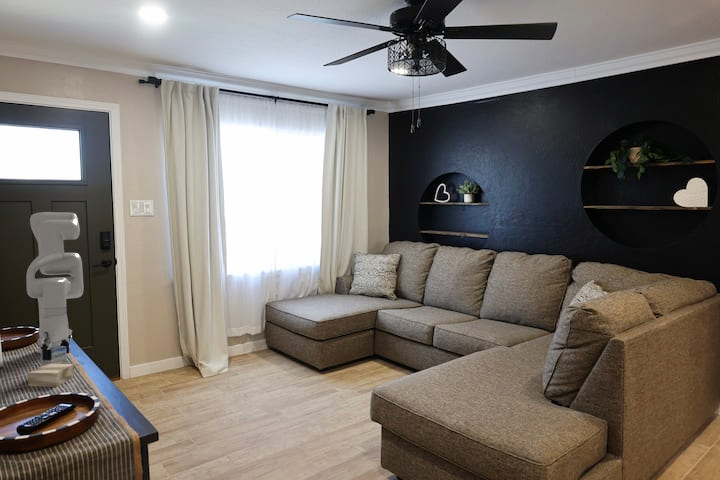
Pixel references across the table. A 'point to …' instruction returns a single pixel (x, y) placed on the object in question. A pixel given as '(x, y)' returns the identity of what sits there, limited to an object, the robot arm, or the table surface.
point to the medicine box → (56, 356)
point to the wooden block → (51, 375)
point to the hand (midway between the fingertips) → (56, 356)
